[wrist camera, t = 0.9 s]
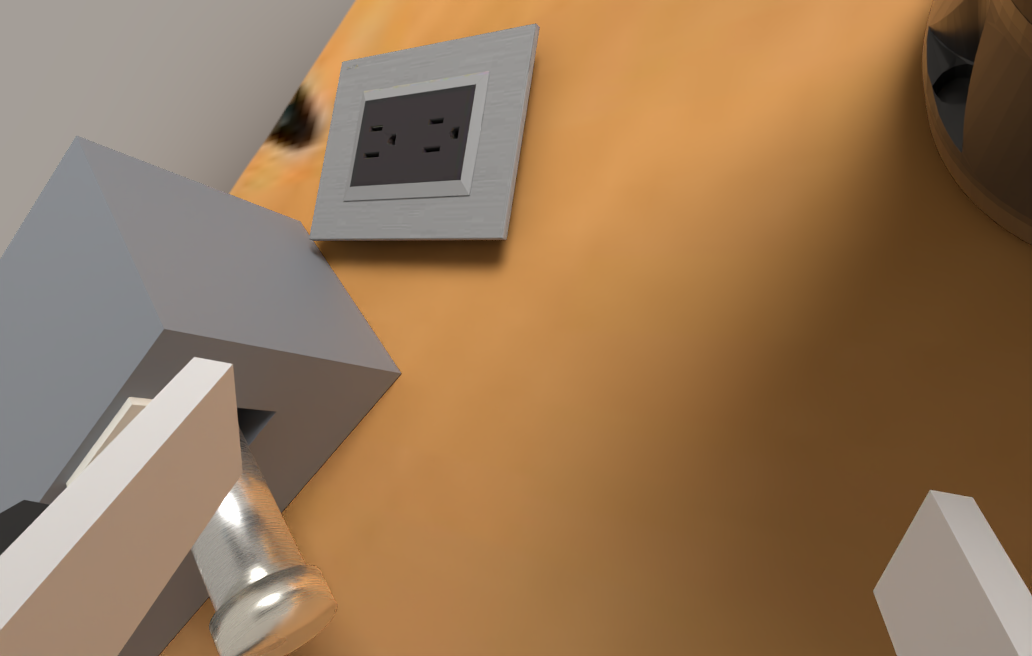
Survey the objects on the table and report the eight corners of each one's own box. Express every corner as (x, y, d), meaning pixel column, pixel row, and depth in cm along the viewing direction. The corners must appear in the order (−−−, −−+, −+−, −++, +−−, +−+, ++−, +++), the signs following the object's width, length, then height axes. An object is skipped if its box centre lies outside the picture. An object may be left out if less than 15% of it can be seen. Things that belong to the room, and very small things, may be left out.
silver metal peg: (358, 591, 28) (267, 607, 25) (295, 658, 30) (199, 682, 26) (251, 384, 34) (165, 372, 30) (202, 446, 35) (113, 442, 32)
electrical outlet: (557, 45, 36) (532, 20, 34) (526, 250, 35) (499, 236, 33) (367, 79, 43) (338, 59, 41) (336, 249, 42) (305, 237, 40)
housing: (404, 378, 37) (167, 336, 26) (145, 679, 43) (-130, 744, 33) (300, 221, 43) (76, 135, 33) (88, 503, 50) (-155, 509, 39)
